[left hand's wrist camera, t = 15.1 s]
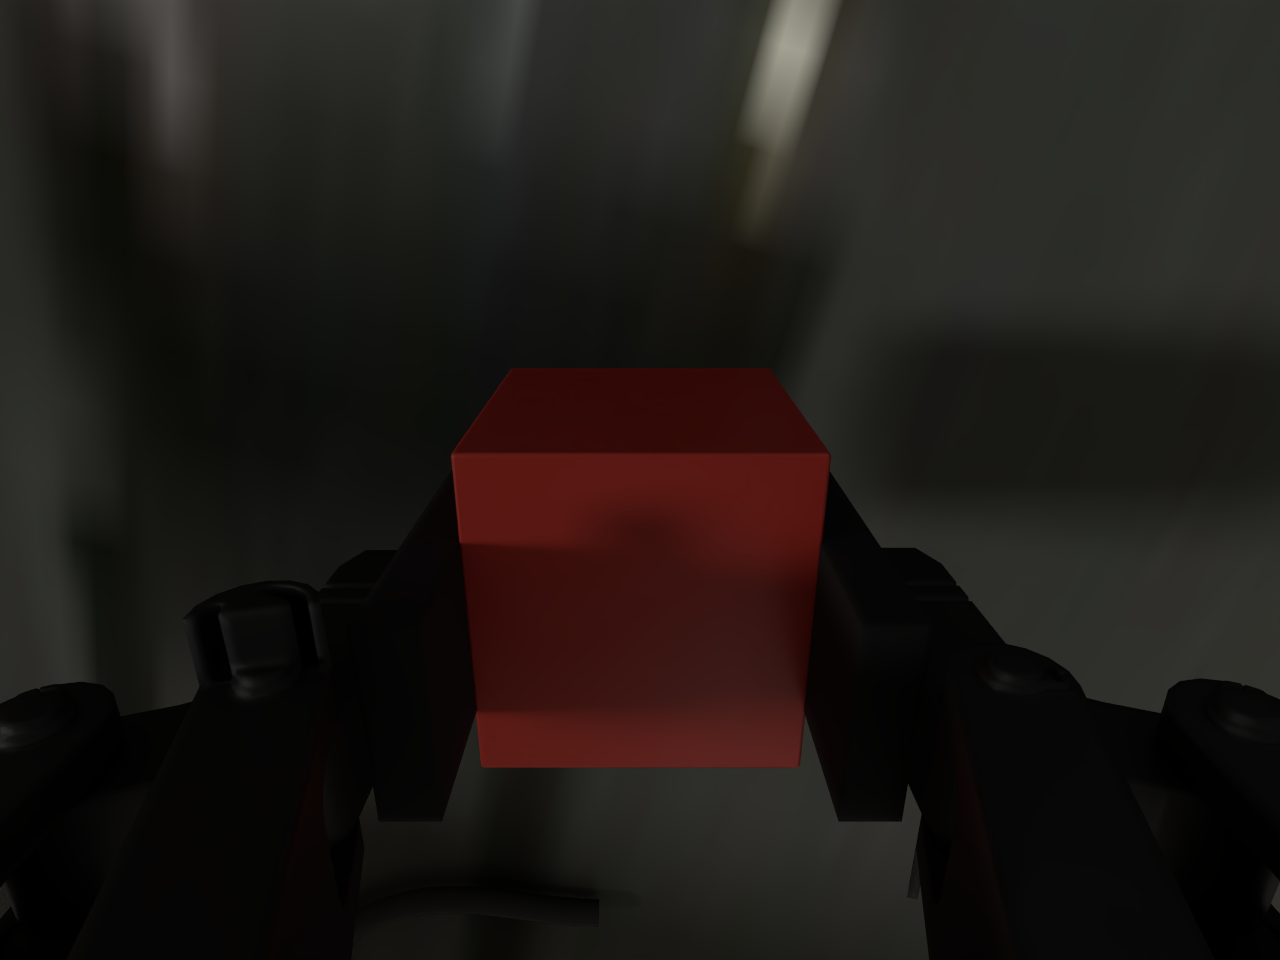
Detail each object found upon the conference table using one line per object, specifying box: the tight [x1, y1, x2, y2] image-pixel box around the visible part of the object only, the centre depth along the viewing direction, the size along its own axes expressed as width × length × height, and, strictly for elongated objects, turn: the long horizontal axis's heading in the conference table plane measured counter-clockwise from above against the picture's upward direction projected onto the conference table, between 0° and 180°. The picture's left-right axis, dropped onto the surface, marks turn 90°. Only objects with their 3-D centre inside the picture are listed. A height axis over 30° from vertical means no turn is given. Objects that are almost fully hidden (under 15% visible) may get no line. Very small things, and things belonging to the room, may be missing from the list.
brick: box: [451, 368, 831, 768], centre depth 12 cm, size 5×5×5 cm
